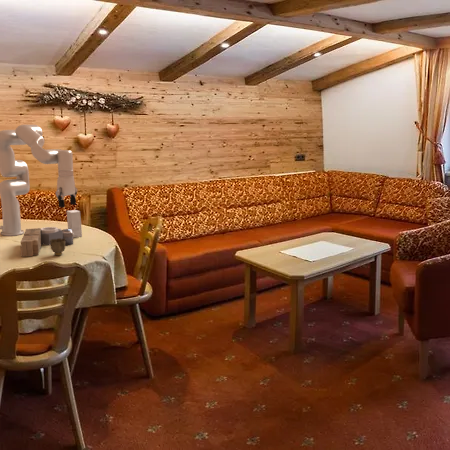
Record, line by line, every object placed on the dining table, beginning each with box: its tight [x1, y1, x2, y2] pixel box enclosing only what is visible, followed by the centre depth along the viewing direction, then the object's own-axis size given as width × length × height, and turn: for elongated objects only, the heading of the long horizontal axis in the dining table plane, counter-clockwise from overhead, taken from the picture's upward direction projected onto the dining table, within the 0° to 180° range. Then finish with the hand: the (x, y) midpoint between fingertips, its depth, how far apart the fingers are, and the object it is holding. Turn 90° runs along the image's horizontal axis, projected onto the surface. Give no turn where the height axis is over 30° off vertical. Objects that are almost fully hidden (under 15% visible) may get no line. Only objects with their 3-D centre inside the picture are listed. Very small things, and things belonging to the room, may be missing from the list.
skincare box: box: [66, 209, 83, 239], centre depth 291 cm, size 8×6×15 cm
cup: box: [49, 238, 66, 257], centre depth 249 cm, size 8×7×8 cm
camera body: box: [41, 226, 63, 246], centre depth 276 cm, size 9×12×8 cm
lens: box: [62, 228, 74, 246], centre depth 272 cm, size 6×5×8 cm
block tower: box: [20, 227, 42, 257], centre depth 259 cm, size 8×8×29 cm
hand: (67, 205), depth 269 cm, fingers open, 9 cm apart
